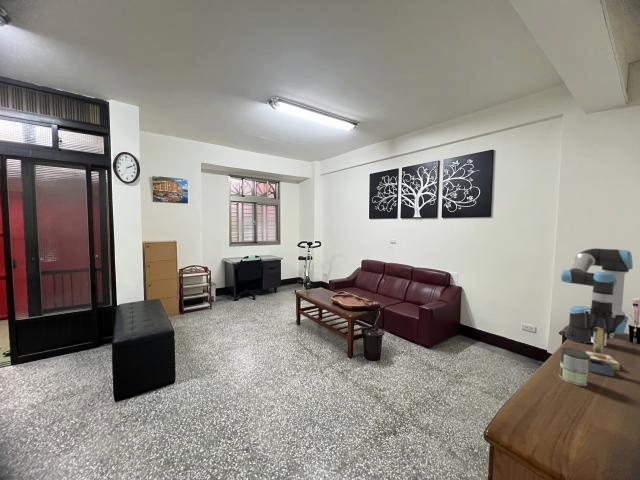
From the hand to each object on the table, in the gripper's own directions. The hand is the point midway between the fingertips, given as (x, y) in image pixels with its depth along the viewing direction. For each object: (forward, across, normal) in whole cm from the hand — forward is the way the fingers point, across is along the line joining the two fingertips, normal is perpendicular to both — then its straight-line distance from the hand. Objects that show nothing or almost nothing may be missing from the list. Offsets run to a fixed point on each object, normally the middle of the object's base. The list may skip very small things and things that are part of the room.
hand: (598, 343), depth 141 cm
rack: (+14, +6, +12) cm, 19 cm away
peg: (+5, 0, 0) cm, 5 cm away
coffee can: (+14, -15, -21) cm, 30 cm away
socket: (+14, 0, 0) cm, 14 cm away
